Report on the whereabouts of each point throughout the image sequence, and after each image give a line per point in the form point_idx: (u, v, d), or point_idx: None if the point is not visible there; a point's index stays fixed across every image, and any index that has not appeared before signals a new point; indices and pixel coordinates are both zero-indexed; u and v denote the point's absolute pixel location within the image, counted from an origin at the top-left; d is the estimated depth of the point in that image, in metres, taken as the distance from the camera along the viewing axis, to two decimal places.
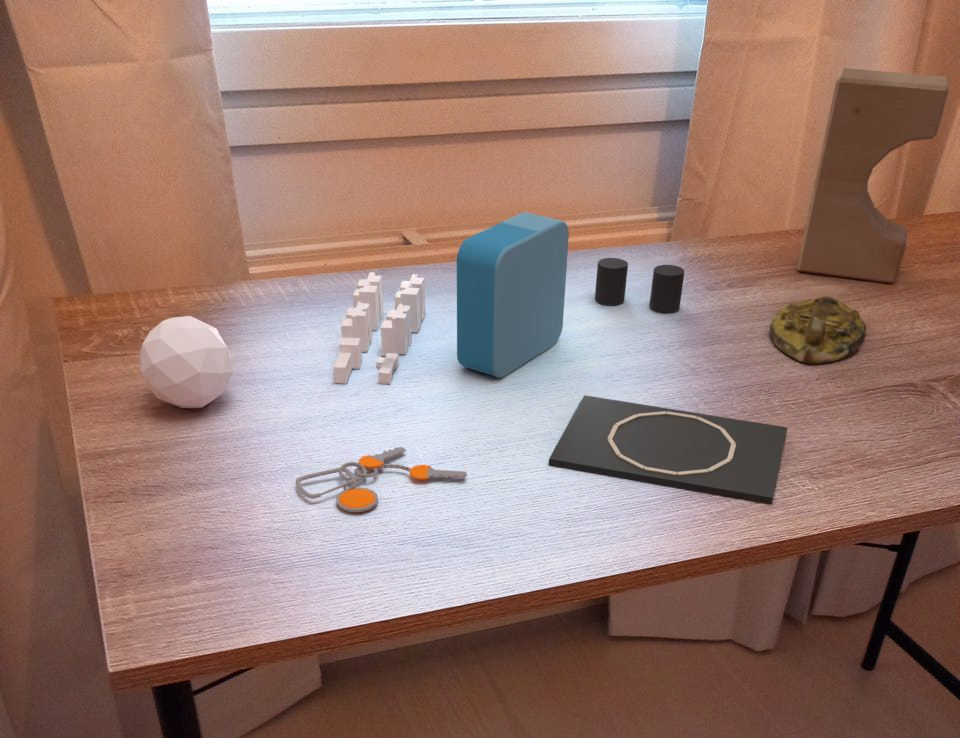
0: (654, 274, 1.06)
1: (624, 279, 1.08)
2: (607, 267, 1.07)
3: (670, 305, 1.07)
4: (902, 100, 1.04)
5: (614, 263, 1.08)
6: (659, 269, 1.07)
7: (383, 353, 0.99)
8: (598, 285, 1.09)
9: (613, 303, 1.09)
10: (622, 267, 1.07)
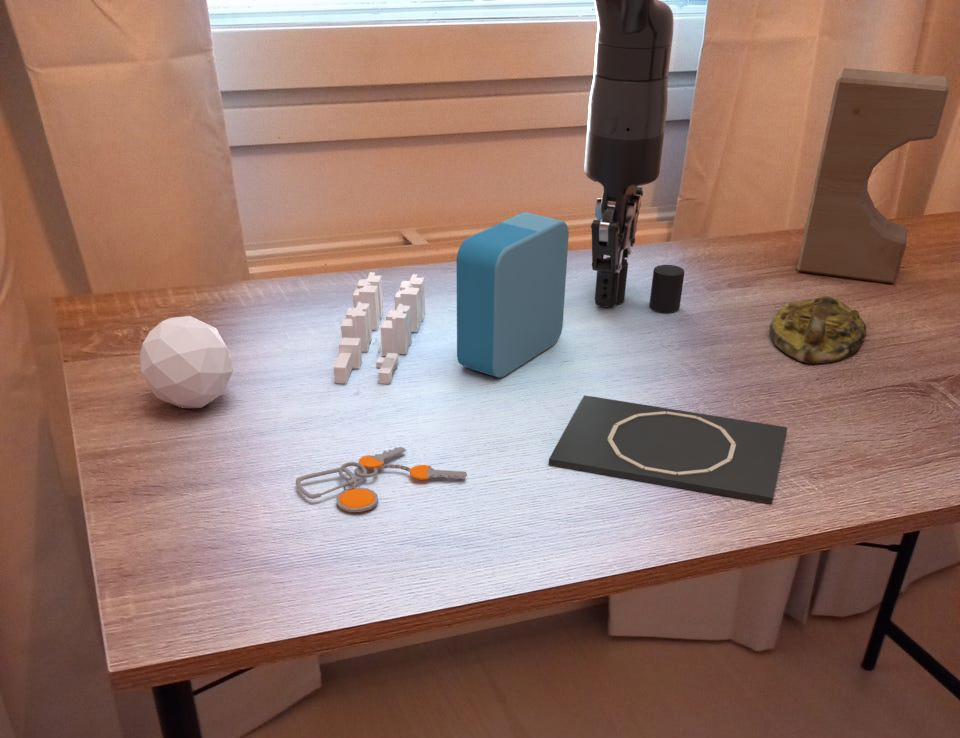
0: (654, 274, 1.06)
1: (624, 279, 1.08)
2: None
3: (670, 305, 1.07)
4: (902, 100, 1.04)
5: None
6: (659, 269, 1.07)
7: (383, 353, 0.99)
8: None
9: None
10: (622, 267, 1.07)
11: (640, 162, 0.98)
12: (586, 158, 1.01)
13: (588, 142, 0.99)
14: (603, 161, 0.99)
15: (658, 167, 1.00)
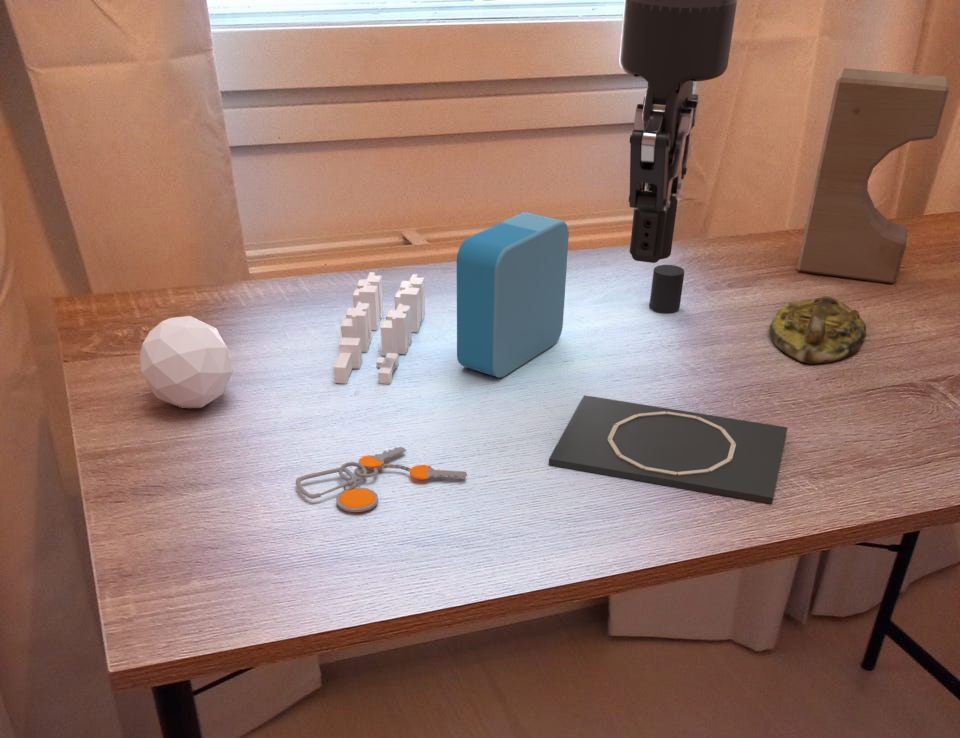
0: (654, 274, 1.06)
1: (672, 222, 0.77)
2: None
3: (670, 305, 1.07)
4: (902, 100, 1.04)
5: None
6: (659, 269, 1.07)
7: (383, 353, 0.99)
8: None
9: None
10: (670, 205, 0.76)
11: (702, 43, 0.67)
12: (622, 42, 0.70)
13: (626, 17, 0.69)
14: (648, 43, 0.68)
15: (727, 55, 0.69)
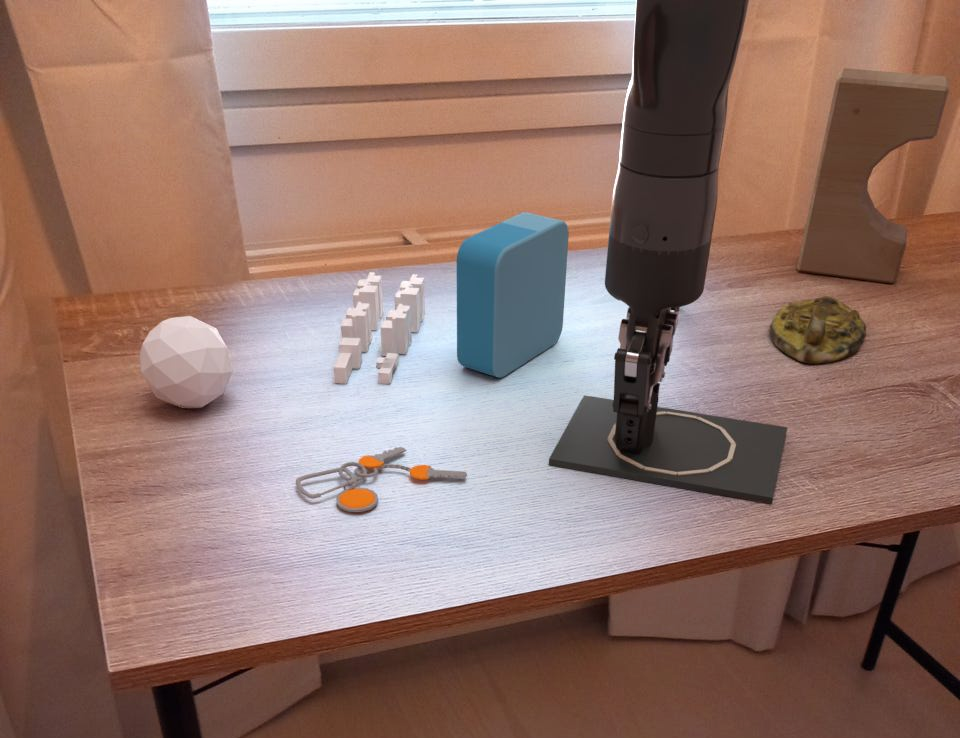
0: None
1: (653, 417, 0.83)
2: None
3: None
4: (902, 100, 1.04)
5: None
6: None
7: (383, 353, 0.99)
8: None
9: None
10: (651, 403, 0.82)
11: (680, 279, 0.74)
12: (607, 269, 0.76)
13: (611, 250, 0.75)
14: (631, 277, 0.74)
15: (703, 282, 0.76)
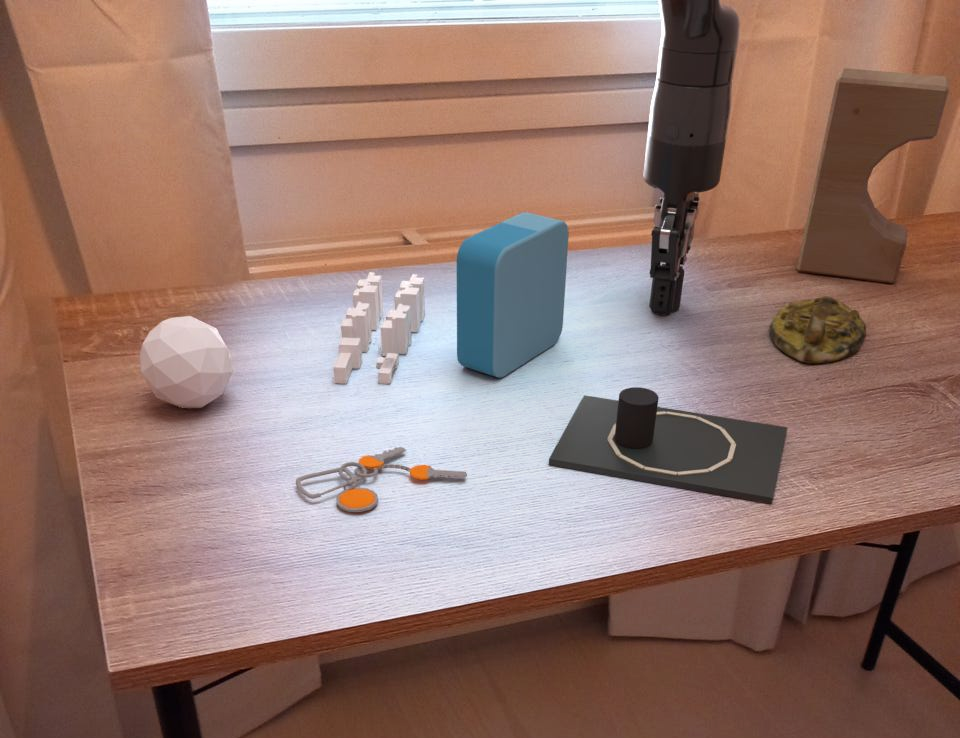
0: None
1: (653, 417, 0.83)
2: (631, 403, 0.82)
3: None
4: (902, 100, 1.04)
5: (641, 397, 0.83)
6: None
7: (383, 353, 0.99)
8: (619, 423, 0.84)
9: (639, 446, 0.84)
10: (651, 403, 0.82)
11: (702, 168, 0.97)
12: (645, 164, 0.99)
13: (649, 148, 0.98)
14: (664, 167, 0.97)
15: (719, 173, 0.99)
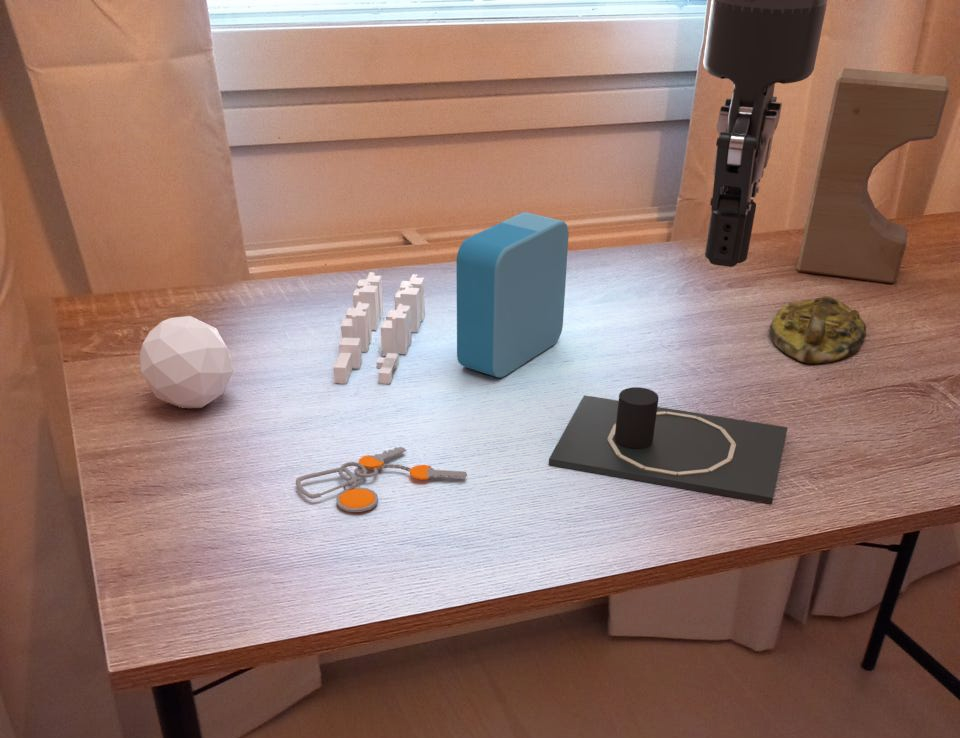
0: None
1: (653, 417, 0.83)
2: (631, 403, 0.82)
3: None
4: (902, 100, 1.04)
5: (641, 397, 0.83)
6: None
7: (383, 353, 0.99)
8: (619, 423, 0.84)
9: (639, 446, 0.84)
10: (651, 403, 0.82)
11: (793, 45, 0.66)
12: (708, 43, 0.69)
13: (714, 18, 0.68)
14: (737, 45, 0.67)
15: (815, 56, 0.69)
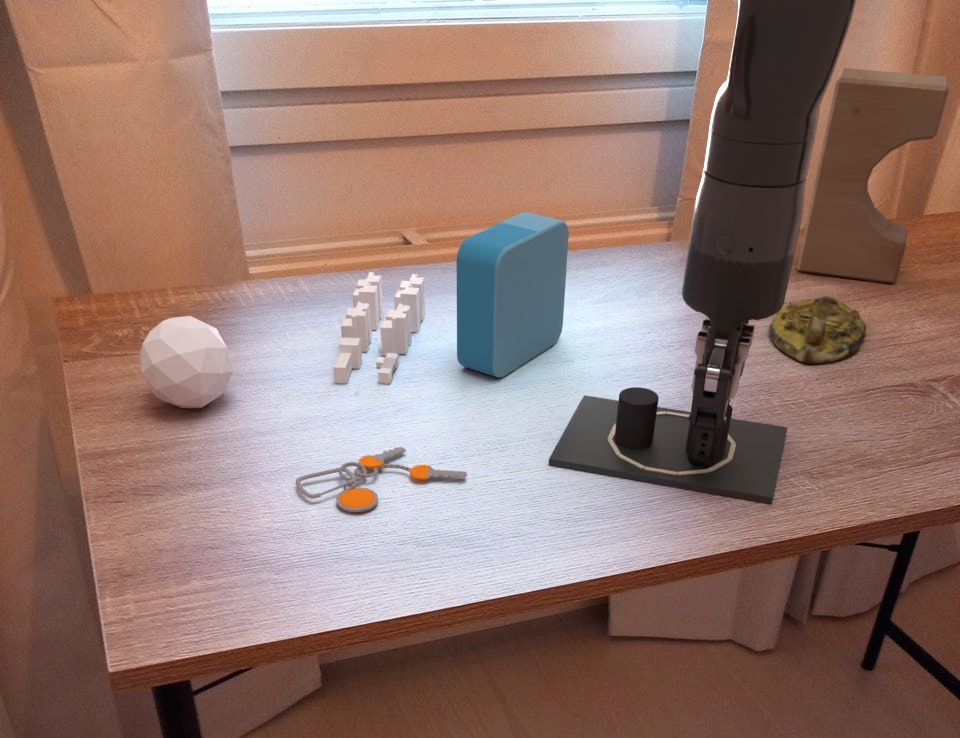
0: None
1: (653, 417, 0.83)
2: (631, 403, 0.82)
3: None
4: (902, 100, 1.04)
5: (641, 397, 0.83)
6: None
7: (383, 353, 0.99)
8: (619, 423, 0.84)
9: (639, 446, 0.84)
10: (651, 403, 0.82)
11: (764, 290, 0.72)
12: (686, 280, 0.75)
13: (691, 261, 0.73)
14: (713, 288, 0.72)
15: (784, 294, 0.74)
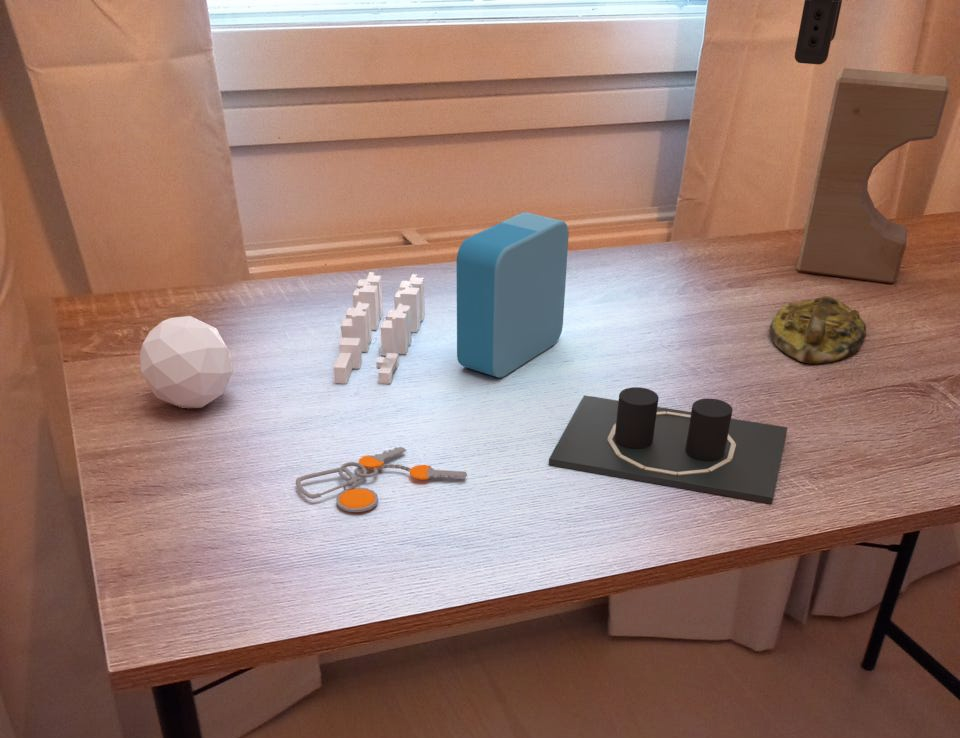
0: (693, 413, 0.82)
1: (653, 417, 0.83)
2: (631, 403, 0.82)
3: (713, 452, 0.83)
4: (902, 100, 1.04)
5: (641, 397, 0.83)
6: (699, 405, 0.82)
7: (383, 353, 0.99)
8: (619, 423, 0.84)
9: (639, 446, 0.84)
10: (651, 403, 0.82)
11: None
12: None
13: None
14: None
15: None
